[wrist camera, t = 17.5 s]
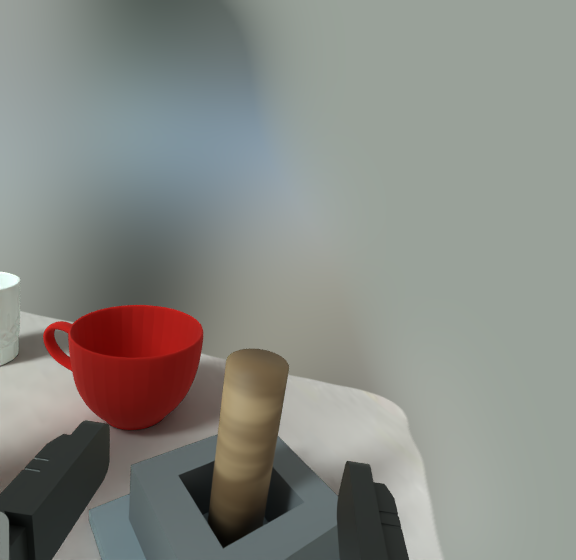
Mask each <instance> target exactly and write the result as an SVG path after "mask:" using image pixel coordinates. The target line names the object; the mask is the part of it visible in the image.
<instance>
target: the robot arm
mask: <svg viewBox="0 0 576 560" xmlns="http://www.w3.org/2000/svg"><path fill="white" fill-rule="evenodd" d="M109 447H110V429H109V425H108V424H105V423H99V422H93V421H83V422H82V423H81V424H80V425H79V426H78V427H77V428H76V430H75V431H74V432H73V433H72V434H71V435H67V434H63V435H61V436H59V437H58V438H56V439H54V440H53V441H51V442H49V443H48V444H46V446H45V447H44V448H43V449H42V450H41V451H40V452H39V453H38V454H37V455H36V456H35V459H32V461H31V462H30V463H29V464H28V465H27V466H26V467H25V470H22V471H21V472H20V473H19V474H18V476H17V477H16V478H15V479H14V480H13V481H12V482H11V483H10V484H9V485H8V486H7V487H6V488H5V489H4V491H3V492H2V493H1V494H0V560H52V558H53V557H54V555H55V554H56V552H57V551H58V549H59V548H60V546H61V545H62V543H63V542H64V540H65V539H66V537H67V535H68V534H69V532H70V531H71V529H72V528H73V526H74V525H75V523H76V522H77V520H78V519H79V517H80V515H81V514H82V512H83V511H84V509H85V508H86V506H87V505H88V503H89V502H90V500H91V499H92V497H93V496H94V494H95V492H96V491H97V489H98V488H99V486H100V485H101V483H102V482H103V480H104V478H105V476H106V473H107V470H108V466H109ZM337 529H338V544H339V558H340V560H409V557H408V553H407V549H406V545H405V541H404V537H403V533H402V529H401V524H400V520H399V517H398V512H397V508H396V504H395V500H394V497H393V496H392V494H391V493H390V491H389V490H388V488H387V487H386V485H385V484H381V483H375V482H373V478H372V473H371V468H370V465H369V464H364V463H358V462H351V461H347V462H346V464H345V469H344V473H343V477H342V482H341V486H340V491H339V495H338V501H337Z"/></svg>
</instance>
